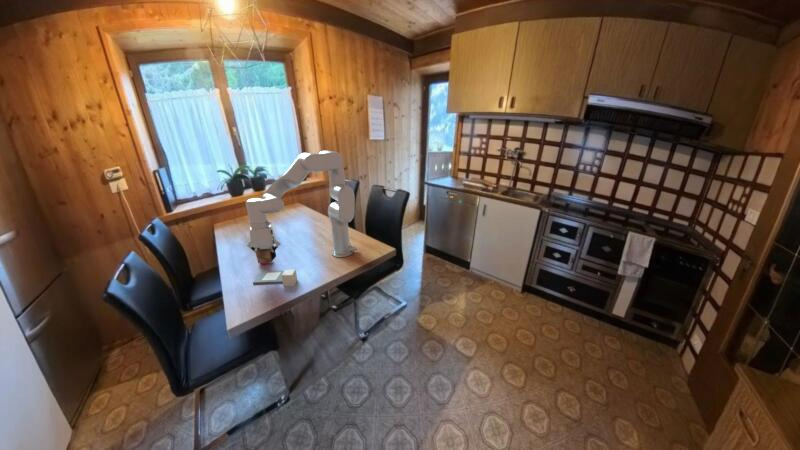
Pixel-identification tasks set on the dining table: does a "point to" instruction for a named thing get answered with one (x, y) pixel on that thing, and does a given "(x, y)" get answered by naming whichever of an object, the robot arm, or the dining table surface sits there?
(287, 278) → the cream block
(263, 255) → the walnut block
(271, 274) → the pad
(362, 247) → the dining table surface
